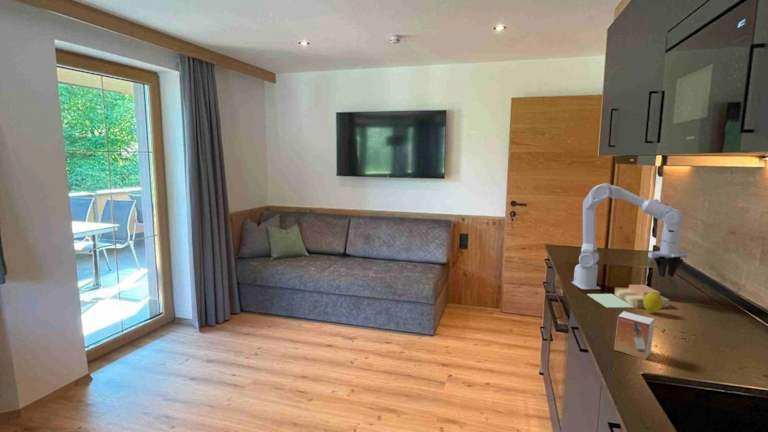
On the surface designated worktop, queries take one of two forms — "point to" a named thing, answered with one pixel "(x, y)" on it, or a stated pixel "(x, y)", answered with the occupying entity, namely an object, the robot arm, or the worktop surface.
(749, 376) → the worktop surface
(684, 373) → the worktop surface
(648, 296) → the lemon
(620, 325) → the small box
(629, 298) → the tan tray
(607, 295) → the mat
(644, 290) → the tile
